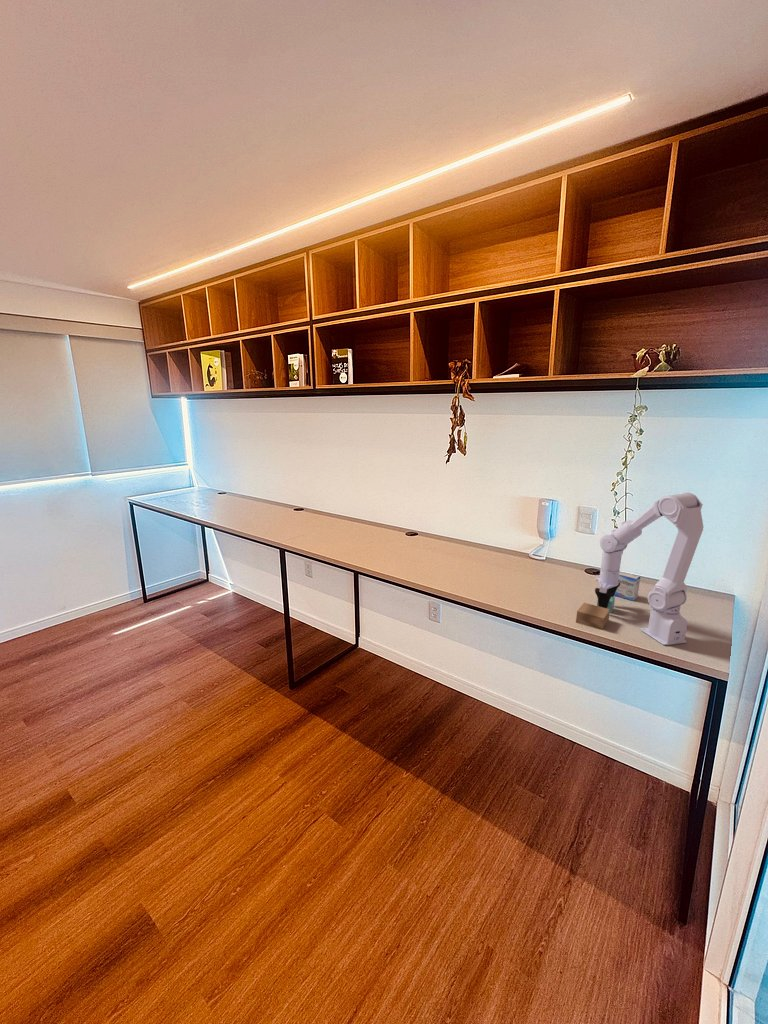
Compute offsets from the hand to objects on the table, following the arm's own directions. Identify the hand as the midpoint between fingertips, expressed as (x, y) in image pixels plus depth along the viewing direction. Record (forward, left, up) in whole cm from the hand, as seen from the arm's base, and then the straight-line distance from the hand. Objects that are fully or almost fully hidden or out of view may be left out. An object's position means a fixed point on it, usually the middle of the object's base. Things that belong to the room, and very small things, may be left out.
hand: (605, 605), depth 151 cm
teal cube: (0, 0, -2) cm, 2 cm away
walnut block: (-7, +10, -1) cm, 12 cm away
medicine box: (+8, -14, -2) cm, 16 cm away
